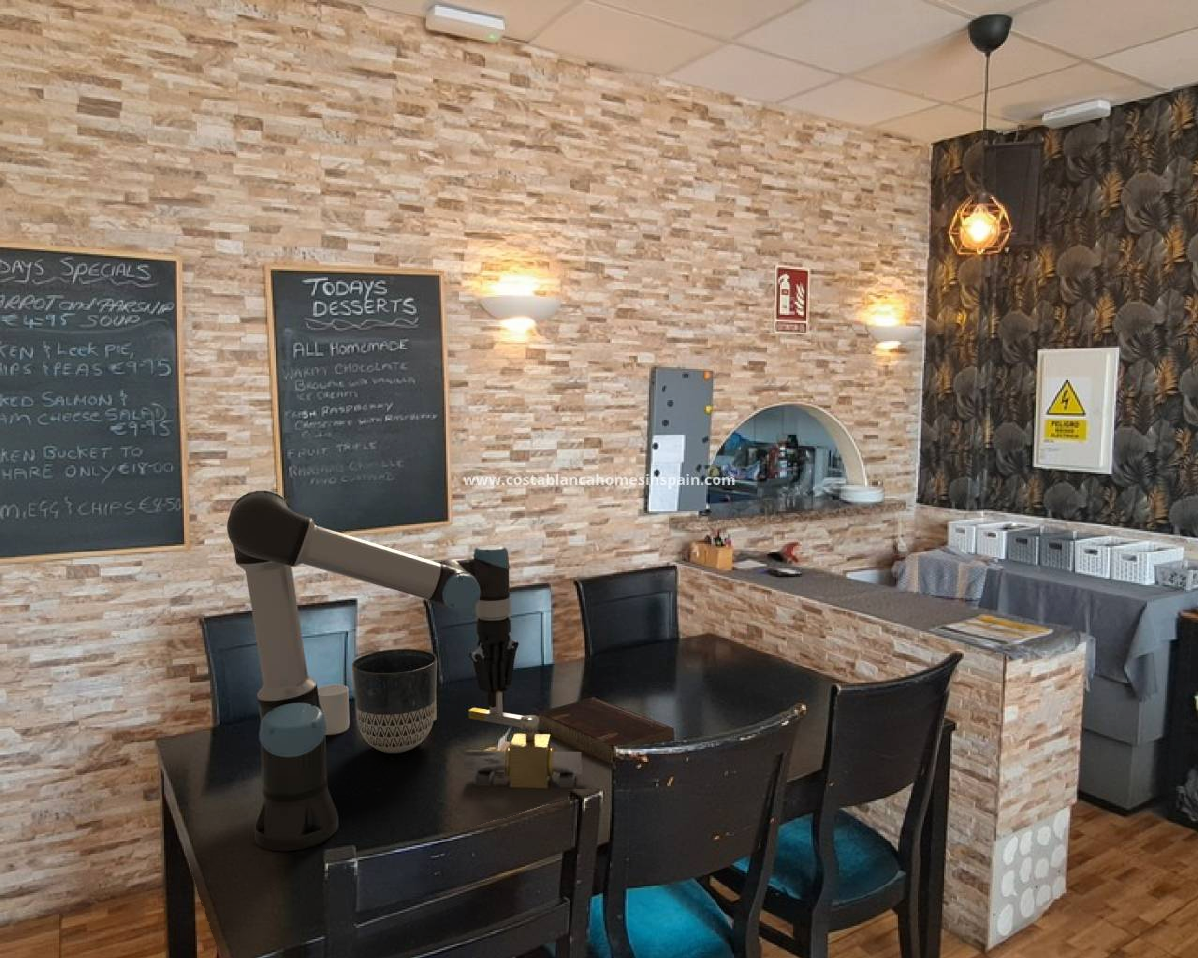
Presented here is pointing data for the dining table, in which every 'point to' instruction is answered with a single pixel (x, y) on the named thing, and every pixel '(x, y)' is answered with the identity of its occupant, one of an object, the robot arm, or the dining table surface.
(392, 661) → the planter
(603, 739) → the hardback book
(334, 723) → the cup
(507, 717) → the lever
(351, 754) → the dining table surface
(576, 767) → the valve
